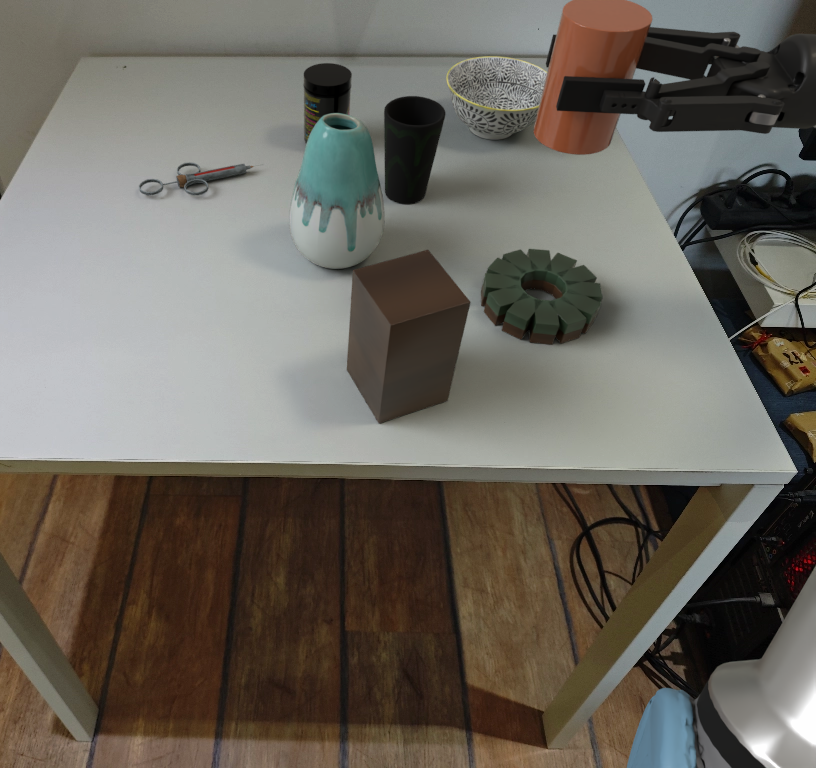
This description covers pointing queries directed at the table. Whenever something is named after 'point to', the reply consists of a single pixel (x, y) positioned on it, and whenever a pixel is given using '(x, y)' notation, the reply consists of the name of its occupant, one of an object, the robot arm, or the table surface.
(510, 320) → the segmented green ring
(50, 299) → the table surface
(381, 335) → the dark brown rectangular block
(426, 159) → the cup
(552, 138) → the orange glossy cylinder
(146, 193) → the syringe
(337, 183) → the vase
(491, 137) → the bowl
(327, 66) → the supplement container
